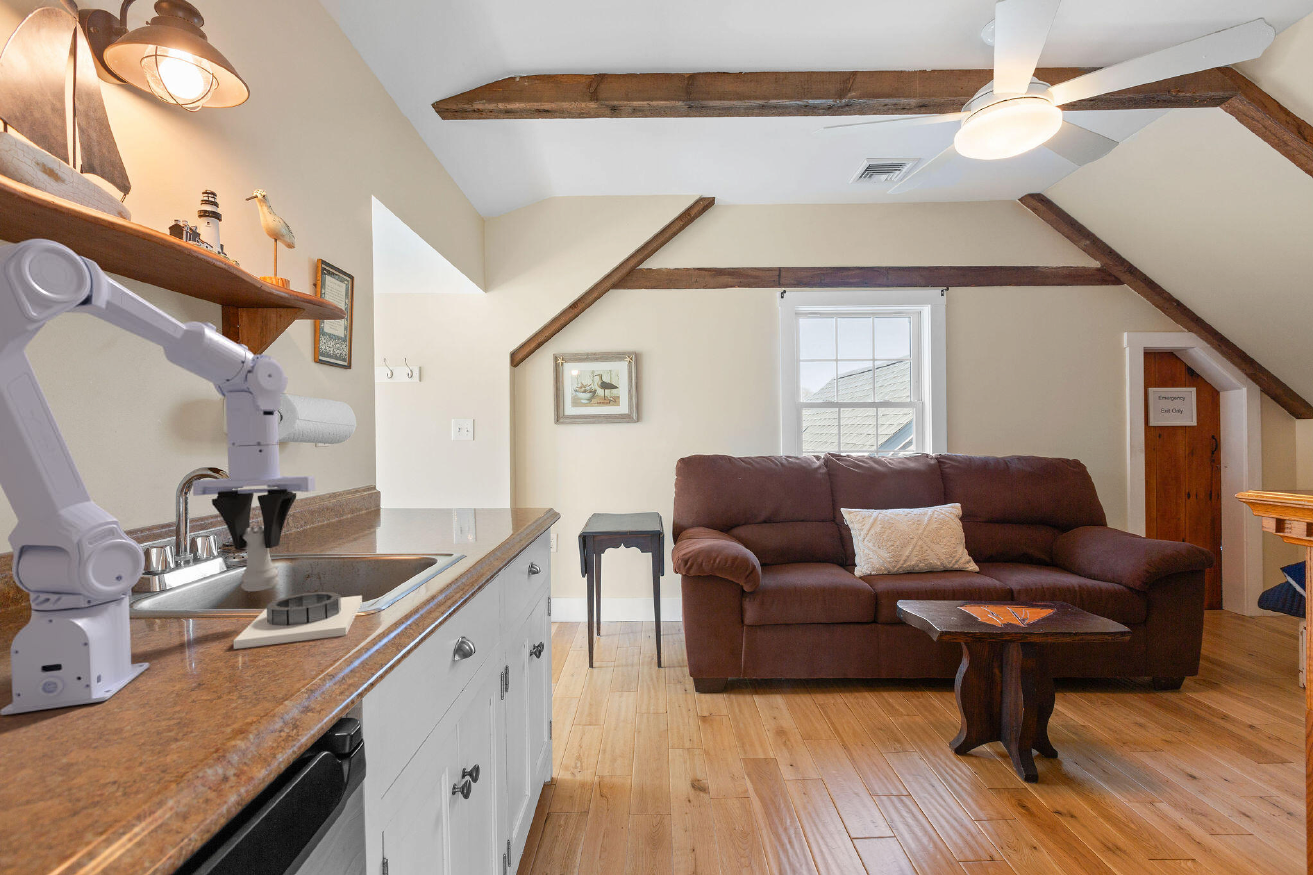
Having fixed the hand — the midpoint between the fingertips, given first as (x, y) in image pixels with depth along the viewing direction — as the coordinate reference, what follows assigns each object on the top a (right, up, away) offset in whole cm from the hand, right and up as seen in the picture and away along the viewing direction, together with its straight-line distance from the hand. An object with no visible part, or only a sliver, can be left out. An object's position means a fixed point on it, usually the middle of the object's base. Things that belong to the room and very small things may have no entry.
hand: (257, 547), depth 82 cm
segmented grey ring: (+6, -10, +1) cm, 12 cm away
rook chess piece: (0, -6, +1) cm, 6 cm away
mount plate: (+6, -10, +1) cm, 12 cm away
